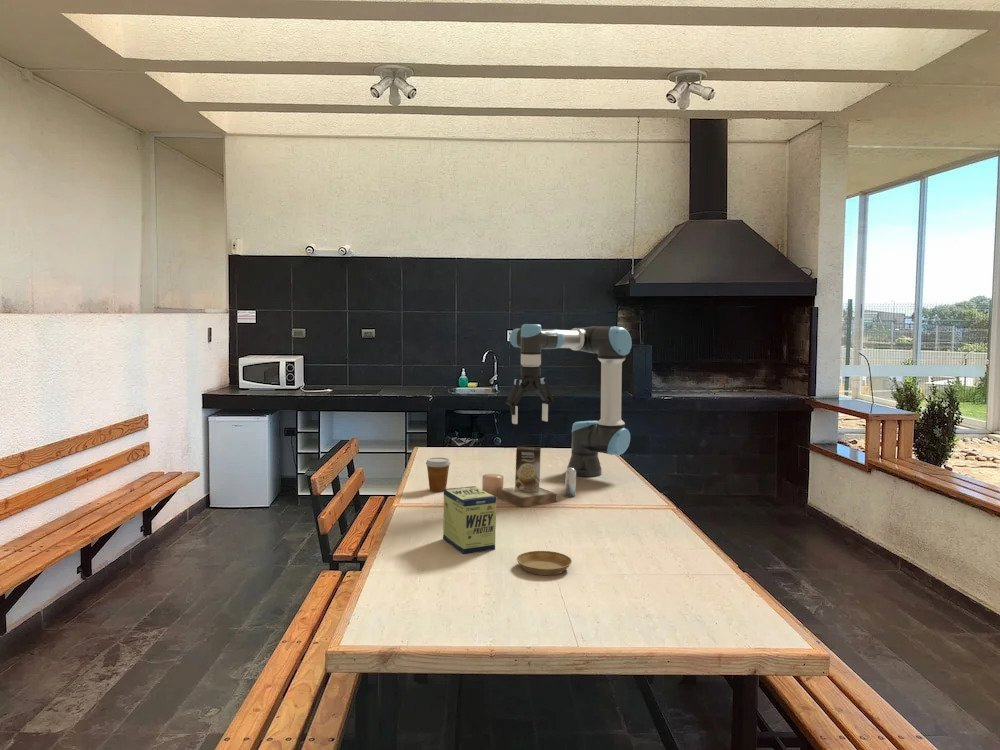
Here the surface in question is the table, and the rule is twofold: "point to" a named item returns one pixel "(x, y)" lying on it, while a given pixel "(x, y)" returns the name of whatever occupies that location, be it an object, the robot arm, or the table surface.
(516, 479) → the coffee box
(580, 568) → the table surface
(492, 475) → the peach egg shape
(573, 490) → the salt shaker
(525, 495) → the picture frame
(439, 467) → the disposable coffee cup
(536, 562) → the plant saucer
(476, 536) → the protein box
